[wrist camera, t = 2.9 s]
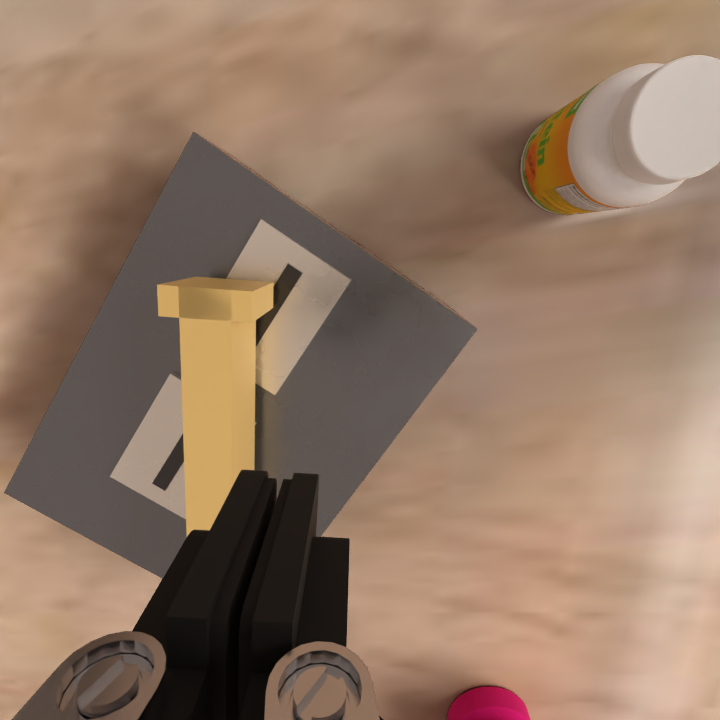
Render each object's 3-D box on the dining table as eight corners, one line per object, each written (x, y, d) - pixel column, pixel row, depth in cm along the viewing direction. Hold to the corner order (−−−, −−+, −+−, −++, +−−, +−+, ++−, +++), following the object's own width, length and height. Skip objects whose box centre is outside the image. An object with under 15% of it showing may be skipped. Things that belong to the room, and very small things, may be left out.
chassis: (226, 152, 25) (189, 129, 20) (457, 313, 27) (479, 330, 22) (62, 451, 30) (-2, 496, 25) (269, 568, 32) (250, 632, 27)
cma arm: (272, 622, 27) (250, 711, 22) (204, 617, 27) (167, 705, 22) (280, 281, 22) (254, 293, 16) (197, 275, 22) (145, 285, 16)
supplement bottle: (551, 92, 24) (669, -4, 15) (635, 139, 25) (802, 76, 15) (500, 189, 25) (578, 158, 16) (582, 232, 26) (704, 226, 16)
